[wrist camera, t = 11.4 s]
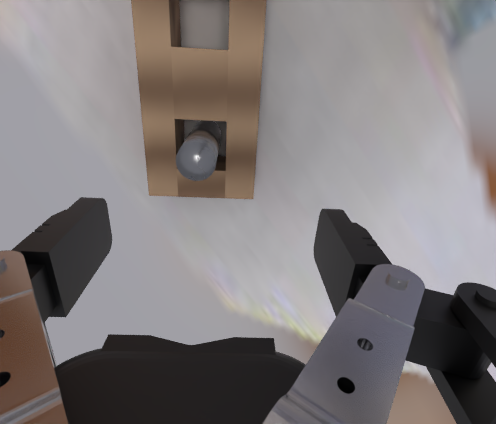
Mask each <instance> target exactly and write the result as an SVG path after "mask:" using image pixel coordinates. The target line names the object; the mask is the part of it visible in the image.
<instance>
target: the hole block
mask: <svg viewBox="0 0 496 424" xmlns="http://www.w3.org/2000/svg"><path fill="white" fill-rule="evenodd" d="M131 4H132V14H133V25H134V36H135V47H136V58H137V69H138V80H139V91H140V102H141V112H142V123H143V134H144V145H145V156H146V167H147V178H148V189H149V195H150V196H178V197H206V198H235V199H253V195H254V180H255V165H256V150H257V135H258V120H259V105H260V90H261V74H262V59H263V44H264V29H265V14H266V0H230V3H229V47H228V50H216V49H200V48H184V47H181V32H180V4H179V0H131ZM184 119H186V120H206V121H227V133H226V156H217V161H216V166H215V170H214V172H213V173H212V175H211V176H210V177H208V178H207V179H204V180H201V181H193V180H189V179H187V178H186V177H184V176H183V175H182V174H181V173H180V172H179V170H178V168H177V166H176V155H177V153H178V151H179V149H180V148H181V146H182V145H183V143H184Z"/></svg>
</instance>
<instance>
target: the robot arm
mask: <svg viewBox="0 0 496 424" xmlns="http://www.w3.org/2000/svg"><path fill="white" fill-rule="evenodd" d="M111 244H112V234H111V228H110V221H109V215H108V208H107V203H106V201H105V199H103V198H83V197H81V198H80V199H79V200H77V201H76V202H75V203H74V204H73V205H72V206H71V207H69V209H67V210H64V211H62V212H59V213H57V214H55V215H53V216H51V217H50V218H49V219H47V220H46V221H45V222H44V223H43V224H42V226H39V227H38V228H37V229H36V230H35V232H32V233H31V234H30V235H29V236H28V237H26V238H25V239H24V240H23V241H22V242H20V243H19V244H18V245H17V246H16V247H15V248H13V249H12V250H11V251H10V250H8V251H7V250H6V251H0V424H386V423H387V420H388V416H389V413H390V410H391V406H392V403H393V399H394V396H395V393H396V390H397V386H398V383H399V379H400V376H401V373H402V369H403V366H404V363H405V360H406V361H410V362H413V363H416V364H420V365H423V366H426V367H427V369H428V371H429V373H430V375H431V377H432V379H433V380H434V382H435V384H436V386H437V388H438V390H439V391H440V393H441V395H442V397H443V399H444V401H445V403H446V404H447V406H448V408H449V410H450V412H451V414H452V415H453V417H454V419H455V421H456V423H457V424H496V382H495V380H494V379H493V378H492V376H491V375H490V374H489V372H488V371H487V368H488V367H489V365H490V364H491V362H492V363H493V365H494V366H495V367H496V290H495V289H493V288H491V287H488V286H485V285H481V284H477V283H462V284H460V285H458V287H457V289H456V291H455V293H454V295H450V294H445V293H441V292H437V291H433V290H429V289H425V286H424V283H423V281H422V280H421V279H420V278H419V277H418V276H417V275H416V274H415V273H413V272H411V271H410V270H408V269H405V268H403V267H400V266H396V265H392V263H391V262H390V261H389V259H388V258H387V257H386V255H385V254H384V253H383V251H382V250H381V249H380V247H379V246H377V243H376V242H375V241H374V240H373V239H372V236H371V235H370V234H369V232H368V231H367V230H366V229H365V228H363V227H362V226H360V225H359V224H357V223H352V222H351V221H350V219H349V218H348V216H347V215H346V213H345V212H344V211H343V210H340V209H322V210H321V212H320V216H319V221H318V227H317V232H316V237H315V243H314V258H315V262H316V265H317V267H318V270H319V272H320V275H321V278H322V280H323V283H324V286H325V288H326V291H327V294H328V296H329V299H330V302H331V304H332V307H333V310H334V312H335V315H336V318H335V320H334V322H333V323H332V325H331V326H330V328H329V329H328V331H327V333H326V334H325V336H324V337H323V339H322V340H321V342H320V344H319V345H318V347H317V348H316V350H315V352H314V353H313V355H312V356H311V358H310V359H309V361H308V363H307V364H306V365H305V364H304V363H302V362H300V361H299V360H297V359H295V358H293V357H290V356H288V355H285V354H282V353H279V352H275V344H274V338H241V337H233V338H228V339H223V340H218V341H213V342H207V343H202V344H197V345H186V344H182V343H178V342H174V341H170V340H166V339H162V338H158V337H154V336H149V335H108V337H107V339H106V341H105V343H104V345H103V347H102V349H97V350H93V351H89V352H86V353H83V354H81V355H78V356H75V357H74V358H71V359H69V360H67V361H65V362H63V363H61V364H60V365H58V366H57V364H56V360H55V357H54V354H53V350H52V346H51V343H50V339H49V336H48V332H47V329H46V326H45V321H46V320H47V318H48V317H66V316H67V315H68V313H69V312H70V310H71V308H72V307H73V306H74V304H75V303H76V301H77V300H78V298H79V297H80V295H81V294H82V292H83V290H84V289H85V288H86V286H87V285H88V283H89V282H90V280H91V279H92V277H93V275H94V274H95V273H96V271H97V270H98V268H99V267H100V265H101V263H102V262H103V260H104V259H105V257H106V256H107V254H108V253H109V251H110V249H111Z"/></svg>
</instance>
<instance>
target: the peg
mask: <svg viewBox="0 0 496 424" xmlns="http://www.w3.org/2000/svg"><path fill="white" fill-rule="evenodd" d="M221 135H222V134H221V129H220V127H219V126H218V124H217V123H215V122H214V121H206V120H201V121H199V122H198V123H196V125H195V126H194V128H193V129H192V131H191V132H190V134H189V135H188V137H187V138H186V140H185V142H184V143H183V145H182V146H181V148H180V149H179V151H178V153H177V155H176V166H177V168H178V170H179V172H180V173H181V174H182V175H183V176H184V177H186V178H187V179H189V180H193V181H201V180H204V179H207V178H208V177H210V176H211V175H212V173H213V172H214V170H215V166H216V161H217V156H218V151H219V146H220V141H221Z"/></svg>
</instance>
